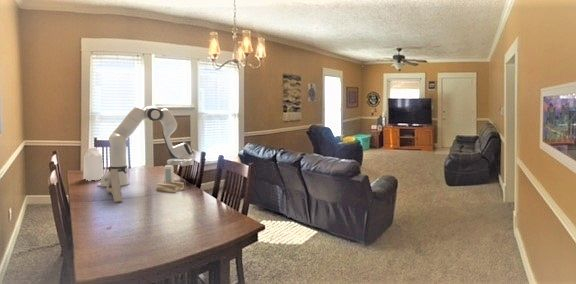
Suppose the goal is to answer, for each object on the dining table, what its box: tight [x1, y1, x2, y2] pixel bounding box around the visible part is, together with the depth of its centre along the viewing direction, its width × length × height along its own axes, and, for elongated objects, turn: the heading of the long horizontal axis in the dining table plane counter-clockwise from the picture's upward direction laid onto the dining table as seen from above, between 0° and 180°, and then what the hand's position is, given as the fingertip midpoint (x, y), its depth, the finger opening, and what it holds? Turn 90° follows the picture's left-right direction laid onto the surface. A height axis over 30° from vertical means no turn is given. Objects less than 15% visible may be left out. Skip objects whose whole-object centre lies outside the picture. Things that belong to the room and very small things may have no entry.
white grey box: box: [163, 164, 175, 182], centre depth 301 cm, size 4×6×15 cm
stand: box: [155, 180, 185, 193], centre depth 288 cm, size 11×16×4 cm
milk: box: [82, 146, 105, 182], centre depth 326 cm, size 12×12×26 cm
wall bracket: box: [106, 169, 123, 204], centre depth 267 cm, size 22×4×30 cm
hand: (176, 163), depth 312 cm, fingers open, 8 cm apart
